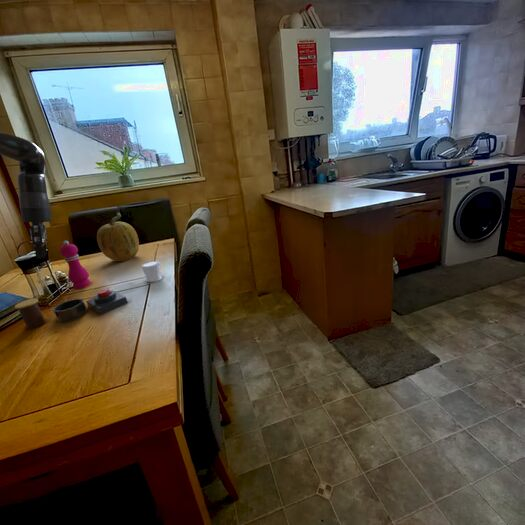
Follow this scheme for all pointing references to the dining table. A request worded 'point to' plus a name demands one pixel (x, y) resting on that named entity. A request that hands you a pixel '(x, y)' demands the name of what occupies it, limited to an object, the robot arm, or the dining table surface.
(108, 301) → the panel
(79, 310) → the pod holder
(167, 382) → the dining table surface
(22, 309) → the coffee pod
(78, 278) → the pepper mill
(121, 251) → the pumpkin
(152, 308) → the dining table surface
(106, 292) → the brew button
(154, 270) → the white short cylinder
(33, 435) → the dining table surface
